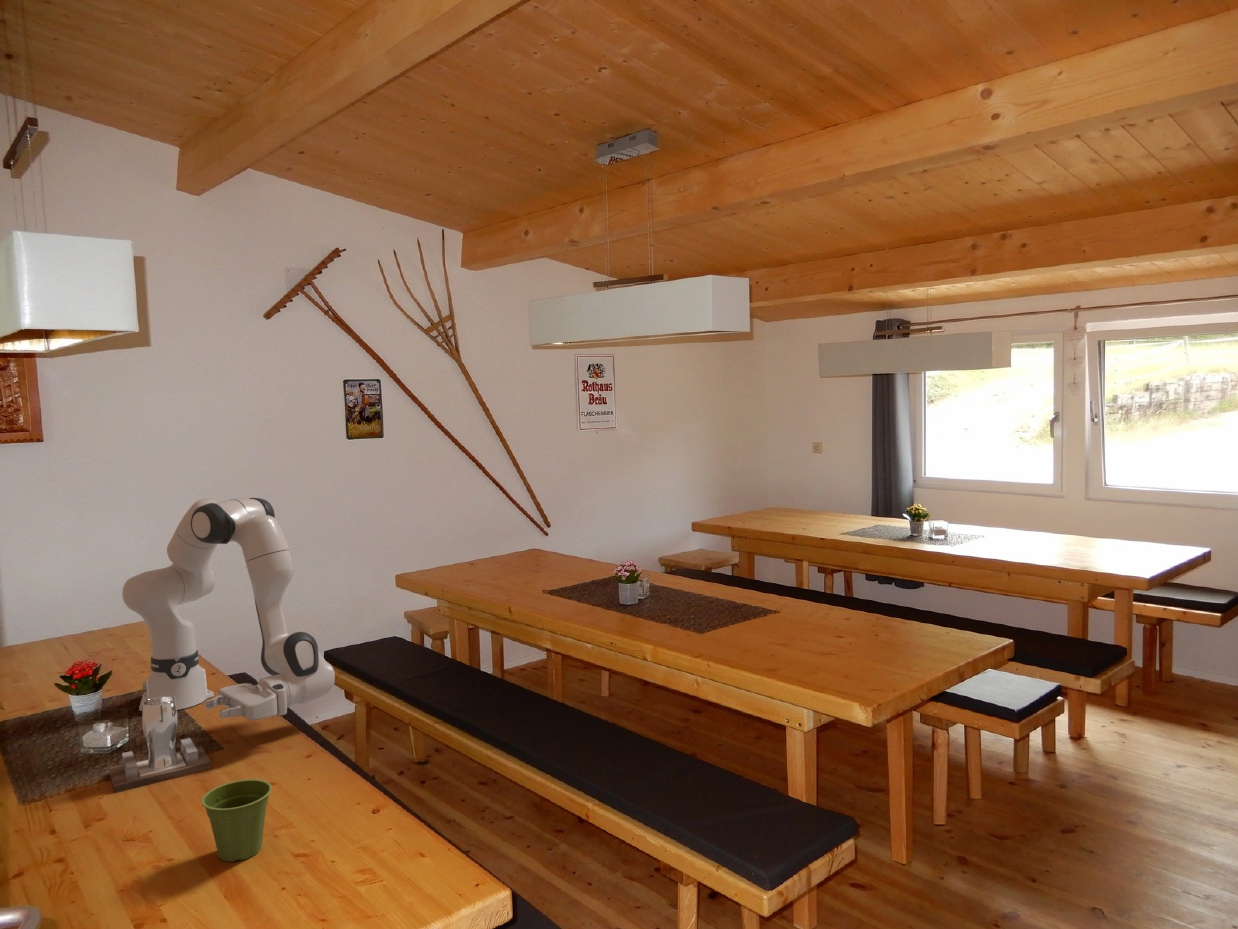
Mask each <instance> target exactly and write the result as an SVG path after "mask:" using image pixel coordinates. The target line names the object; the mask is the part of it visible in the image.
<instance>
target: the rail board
mask: <svg viewBox="0 0 1238 929" xmlns="http://www.w3.org/2000/svg"><path fill="white" fill-rule="evenodd" d="M176 755H177V759H178V763H177V764H176V765H175V766H173V767H170V768H168V769H164V770H157V771H153V770H149V769H148V767H147V766H148V759H149V757H148V758H145V759H140V760H136V758H135V755H134V753H133V750H130V751H126V752H122V753H121V758H122V759H121V760H122V761H121V763H122V764H119V765H115V766H110V767H109V769H108V770H109V776H110V779H111V783H112V787H113V789H114V793H119V792H124V791H127V790H131V789H136V788H139V787H143V786H147V785H151V784H156V783H160V782H164V781H167V780H172V779H175V778H179V777H184V776H188V775H191V774H190V773H192V774H197V773H199V771H200V772H203V771H202V770H204V771H207V769H208V770H211V769H210V768H212V761H211V759H210V758H209V756H208V755H207V753H206V750H205V749H204V748H203V746H202V745H200V746H196V745H195V744H194V742H193V741H192V739H191V737H187V738H184V739H183V738H182V739H180V750H178V751H176ZM187 774H188V775H187Z"/></svg>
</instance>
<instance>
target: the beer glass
mask: <svg viewBox="0 0 1238 929" xmlns="http://www.w3.org/2000/svg"><path fill="white" fill-rule="evenodd" d="M142 705H143V707H142V711H141V713H142V714H141V716H142V717H141V718H142V720H141V722H142V729H143V734H144V739H145V741H146V744H147V745H146V746H147V750H148V751H147V752H148V758H149V759H148V758H147V759H148V766H147V767H148V769H149V770H153V771H157V770H164V769H168V768H170V767H173V766H175V765H176V764H177V763H178V759H177V755H176V752H177V751H176V739H177V738H176V737H177V730H178V710H177V707H176V701H175V697H173V696H159V697H154V698H151V699H148V700H146V701H144V702H143V703H142Z"/></svg>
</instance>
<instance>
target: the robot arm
mask: <svg viewBox="0 0 1238 929" xmlns="http://www.w3.org/2000/svg"><path fill="white" fill-rule="evenodd" d="M275 516H276V515H275V510H274V508H273V506H272V504H271V503H270V502H269V501H268V500H266V499H264V498H259V497H249V498H233V499H229V500H228V499H227V500H223V501H218V500H215V499H214V498H213V499H212V498H202V499H199V500H197V501H195V502H194V503H193V504H192V505H191V506H190V508H189V509H187V511H186V513H185V514H184V515H183V517H182V518H181V520H180V522H179V524H178V525H177V527H176V529H175V530H174V533H173V535H172V537H171V539H170V540H169V542H168V544H167V547H166V553H167V554H166V555H167V557H168V559H169V560H170V562H171V565H169V566H166V567H163V568H158V569H153V570H152V569H151V570H148V571H144V572H141V573H139V574H136V575H135V576H133V577H130V578H128V579H127V580H126V581H125V583H124V585H123V587H122V594H121V596H122V599H123V602H124V605H125V606H126V607H127V608H128V609H130V610H131V611H133V612H134V613H136V614H138V615H139V616H140V617H141V618H142V619H143V621H144V622H145V624H146V625H147V627H148V631H149V635H150V636H149V637H150V644H151V657H150V663H149V664H150V670H151V672H150V674H149V676H148V677H147V679H146V680H145V681H142V690H144V691H145V690H146V691H145V692H143V694H142V697H141V700H140V704H139V707H138V708H139V709H138V711H140V712H142V707H143V705H142V703H143V702H144V701H146V700H148V699H151V698H154V697H159V696H173V697H175V701H176V707H177V711H178V710H183V709H189V708H191V707H194V706H196V705H199V704H201V703H203V702H204V708H206V709H207V710H211V709H215V708H216V707H218V706H225V707H226V708H223V709H220V710H219V717H220V718H222V719H227V718H235V717H244V718H245V719H248V721H259V720H263V719H267V718H270V717H274V716H275V717H276V716H279V717H280V716H284V715H285V716H286V714H287V713H288V709H289V708H290V707H292V706H293V705H302V704H306V703H309V702H314V701H315V700H319V699H321V698H323V697H325V696H327V695H328V694H329V693H330V692H332V690H333V688H334V686H335V682H336V673H335V669H334V667H333V666H332V664H330V663H329V662H327V661H326V659H325V658H324V657H323V655H322V653H321V651H320V650H319V646H318V643H317V641H316V640H317V639H315V638H314V637H313V635H311V634H309V633H308V632H304V631H298V632H293V633H290V634H289V632H288V628H287V624H286V620H285V614H284V609H283V597H284V594H285V592H286V590H287V588H288V586H289V585H290V583H291V581H292V579H293V577H294V573H295V572H294V561H293V556H292V554H291V550H290V547H289V544H288V541H287V538H286V536H285V533H284V531H283V530H282V527H281V526H280V523H279V522H278V520H277V518H276V517H275ZM230 542H235V543H237V544H238V545H239V546H240V547H241V551H242V554H243V558H244V562H245V565H246V568H247V572H248V576H249V579H250V584H251V587H252V593H253V598H254V602H255V609H256V615H257V620H258V624H259V628H260V629H259V630H260V634H261V639H262V641H261V642H262V645H261V651H260V652H261V653H260V661H261V666H262V668H263V669H264V671H265V672H266V673H267V674H269V676H265V677H262V678H260V679H259V680H258V682H257V684H255V685H254V684H252V683H249V682H245V683H244V682H243V683H239V684H234V685H228V686H224V687H221V688H219V689H218V695H217V696H215V694H214V691H212V690H210V689H208V686H207V685H208V684H207V675H206V669H205V668H203V667H202V666H200V664H199V663H200V661H199V660H200V659H199V658H200V655H199V651H198V650H197V639H196V637H197V636H196V627H195V625H194V623H193V622H192V621H191V620H190V619H188V618H185V617H182V616H180V614H179V611H178V606H179V605H183V604H185V603H186V604H187V603H191V602H194V601H197V600H199V599H202V598H203V597H206V596H207V595H210V594H211V593H212V592H213V590H214V588H215V586H216V574H215V572H214V571H213V569H212V568H211V567H210V566H209V562H210V559H211V557H212V555H213V553H214V552H215V550H216V548H217V546H218V544H219V545H227V544H229V543H230ZM212 697H214V698H212ZM210 698H212V699H210Z"/></svg>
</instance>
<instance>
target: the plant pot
mask: <svg viewBox="0 0 1238 929" xmlns="http://www.w3.org/2000/svg"><path fill="white" fill-rule="evenodd" d="M272 790H273V785H272V784H271V783H270V782H269V781H266V780H263V779H255V778H254V779H252V778H251V779H250V778H249V779H241V780H235V781H230V782H226V783H222V784H221V785H218V786H216V787H214V788H212V789H210V790H209V791H207V792H205V793H204V795H203V796H202V798H201V801H200V802H201V805H202V807H204V808H205V811H206V815H207V817H208V818H209V822H210V826H211V830H212V835H213V838H214V843H215V847H216V851H217V856H218V858H219V859H220V860H221V861H224V862H228V863H229V862H232V863H233V862H235V861H238V860H242V861H243V860H248V859H249V858H252V857H253V856H255V855H256V854H258V853H259V852H260V850H261V848H262V846H263V844H262V843H263V836H264V828H265V821H266V820H265V819H266V814H267V813H266V812H267V806H268V803H269V798H270V796H269V795H270V794H271V793H272Z"/></svg>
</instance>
